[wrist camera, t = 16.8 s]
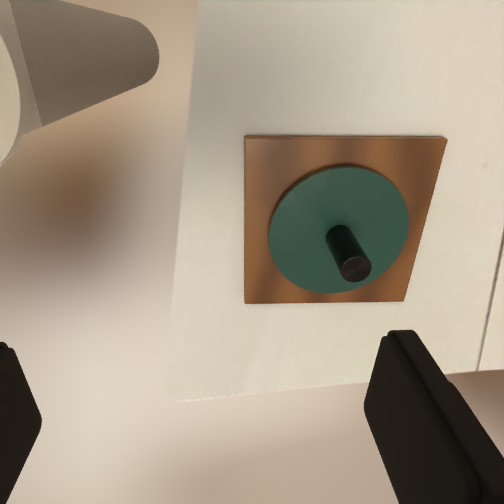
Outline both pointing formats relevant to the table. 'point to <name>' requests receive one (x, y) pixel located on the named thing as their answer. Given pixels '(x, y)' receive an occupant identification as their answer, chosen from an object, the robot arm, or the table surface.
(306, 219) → the pot lid
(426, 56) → the table surface
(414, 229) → the square wooden board
